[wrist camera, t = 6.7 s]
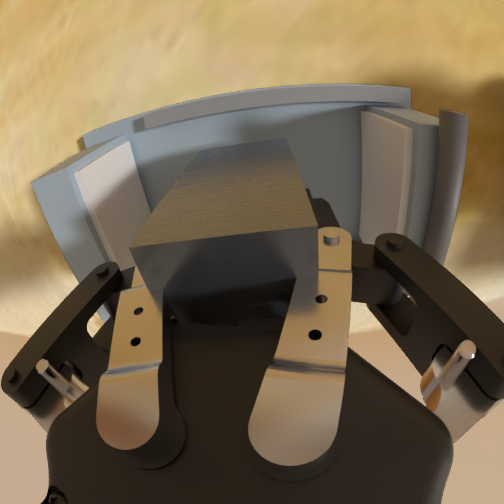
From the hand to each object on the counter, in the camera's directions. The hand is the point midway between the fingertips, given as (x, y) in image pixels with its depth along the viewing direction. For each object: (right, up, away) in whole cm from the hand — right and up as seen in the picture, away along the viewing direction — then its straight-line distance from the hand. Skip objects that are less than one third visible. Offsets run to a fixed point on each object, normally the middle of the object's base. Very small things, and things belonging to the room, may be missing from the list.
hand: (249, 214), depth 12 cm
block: (0, +1, +1) cm, 2 cm away
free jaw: (+8, +3, +3) cm, 9 cm away
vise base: (0, +3, +4) cm, 5 cm away
